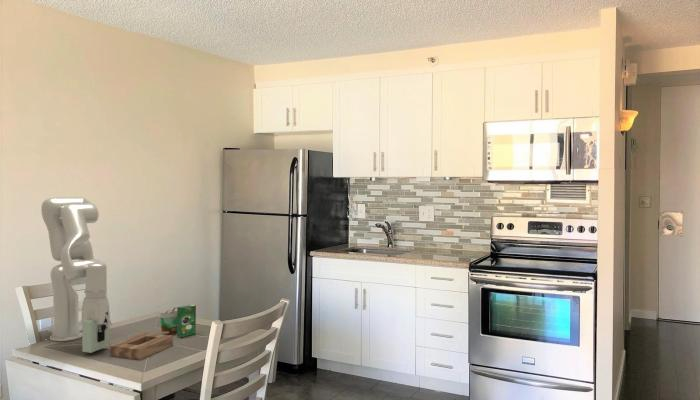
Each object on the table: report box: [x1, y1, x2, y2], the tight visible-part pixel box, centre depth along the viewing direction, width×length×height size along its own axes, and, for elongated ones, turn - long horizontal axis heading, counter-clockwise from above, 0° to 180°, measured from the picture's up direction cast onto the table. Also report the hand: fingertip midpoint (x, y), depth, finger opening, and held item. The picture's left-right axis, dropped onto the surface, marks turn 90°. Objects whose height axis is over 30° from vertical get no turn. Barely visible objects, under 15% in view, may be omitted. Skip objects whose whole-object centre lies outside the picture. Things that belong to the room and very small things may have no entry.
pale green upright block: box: [81, 319, 111, 354], centre depth 222 cm, size 4×10×12 cm, turn 162°
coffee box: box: [176, 304, 197, 339], centre depth 247 cm, size 8×3×13 cm, turn 139°
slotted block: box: [109, 332, 174, 361], centre depth 225 cm, size 14×20×4 cm
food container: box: [159, 306, 178, 336], centre depth 251 cm, size 12×6×10 cm, turn 168°
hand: (96, 339), depth 223 cm, fingers closed on pale green upright block, 4 cm apart
